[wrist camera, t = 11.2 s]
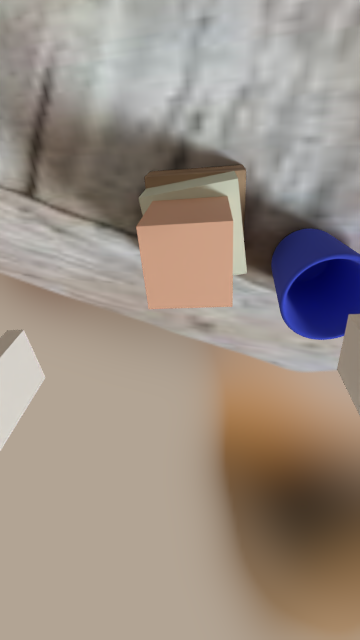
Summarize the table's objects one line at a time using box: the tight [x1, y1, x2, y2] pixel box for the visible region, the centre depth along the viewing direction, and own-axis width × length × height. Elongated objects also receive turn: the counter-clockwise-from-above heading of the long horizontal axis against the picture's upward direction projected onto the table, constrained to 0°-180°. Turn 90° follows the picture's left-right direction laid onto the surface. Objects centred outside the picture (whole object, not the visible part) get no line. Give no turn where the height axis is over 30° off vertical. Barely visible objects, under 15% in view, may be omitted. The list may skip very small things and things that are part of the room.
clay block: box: [136, 196, 233, 309], centre depth 24 cm, size 6×6×7 cm
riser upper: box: [138, 171, 247, 275], centre depth 29 cm, size 8×8×4 cm
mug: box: [271, 229, 360, 340], centre depth 31 cm, size 8×12×10 cm
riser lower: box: [144, 165, 246, 236], centre depth 32 cm, size 9×9×4 cm
